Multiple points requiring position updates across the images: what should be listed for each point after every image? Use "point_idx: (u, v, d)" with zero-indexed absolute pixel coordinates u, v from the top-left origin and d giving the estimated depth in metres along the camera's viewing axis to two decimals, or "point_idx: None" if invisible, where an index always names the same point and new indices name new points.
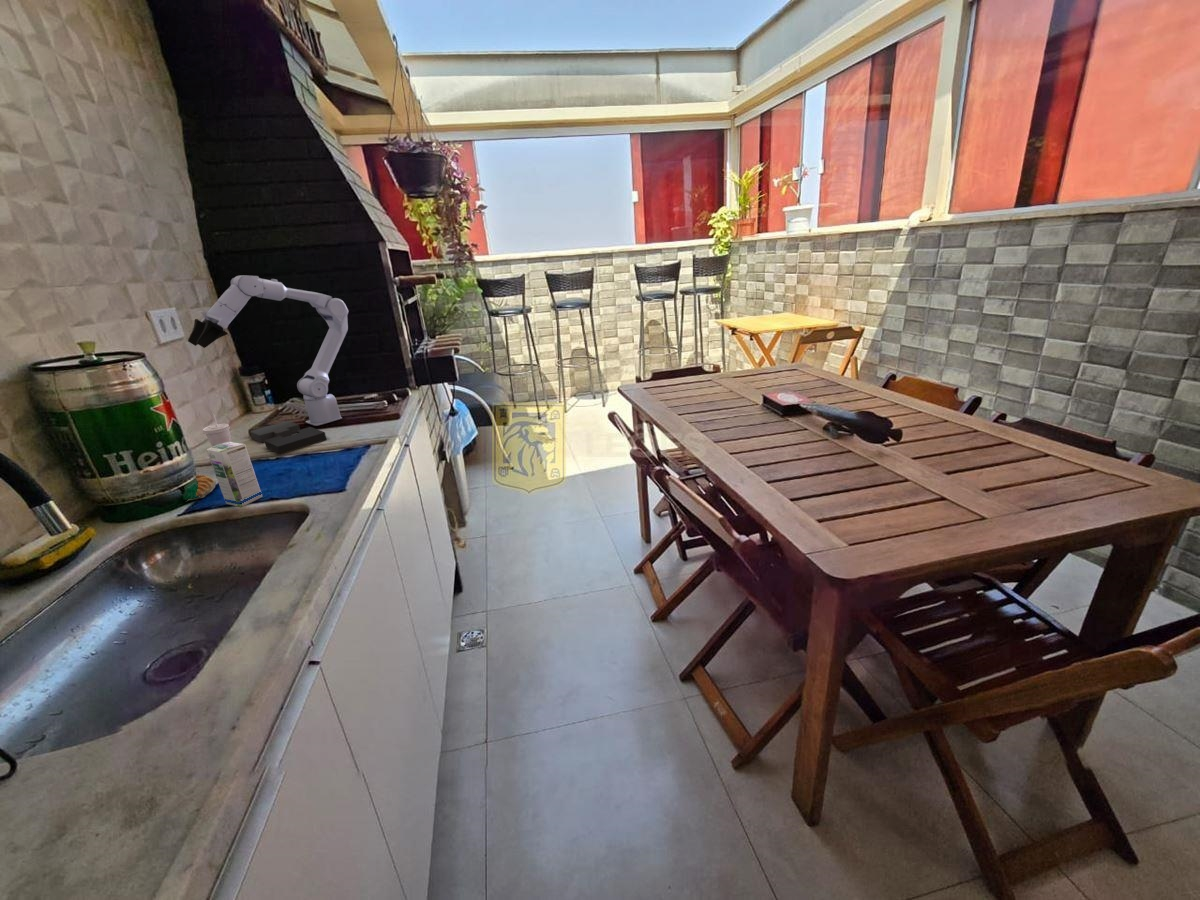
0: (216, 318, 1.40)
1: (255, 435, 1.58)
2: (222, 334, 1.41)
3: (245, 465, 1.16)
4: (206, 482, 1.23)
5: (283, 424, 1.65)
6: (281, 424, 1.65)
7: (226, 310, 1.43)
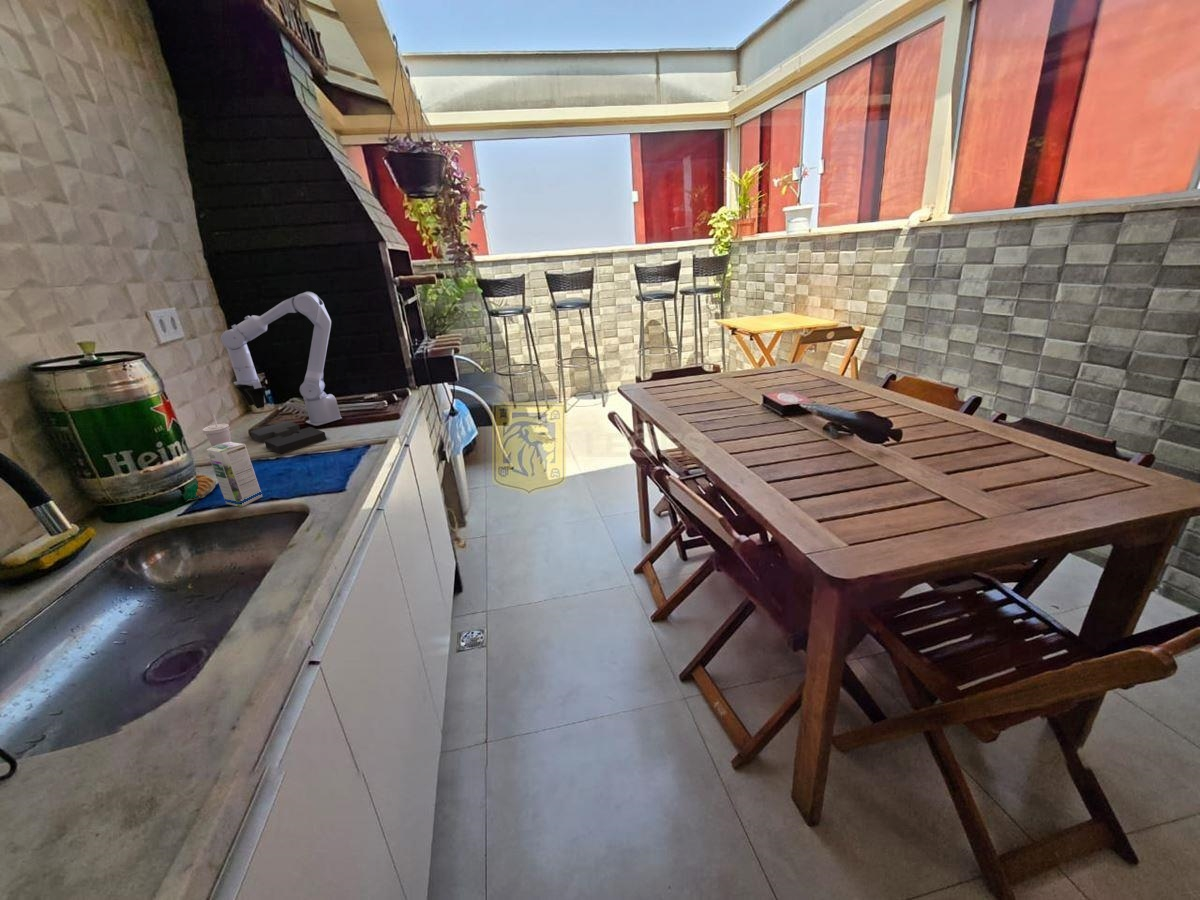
0: (248, 383, 1.58)
1: (255, 435, 1.58)
2: (263, 390, 1.61)
3: (245, 465, 1.16)
4: (206, 482, 1.23)
5: (283, 424, 1.65)
6: (281, 424, 1.65)
7: (246, 370, 1.58)
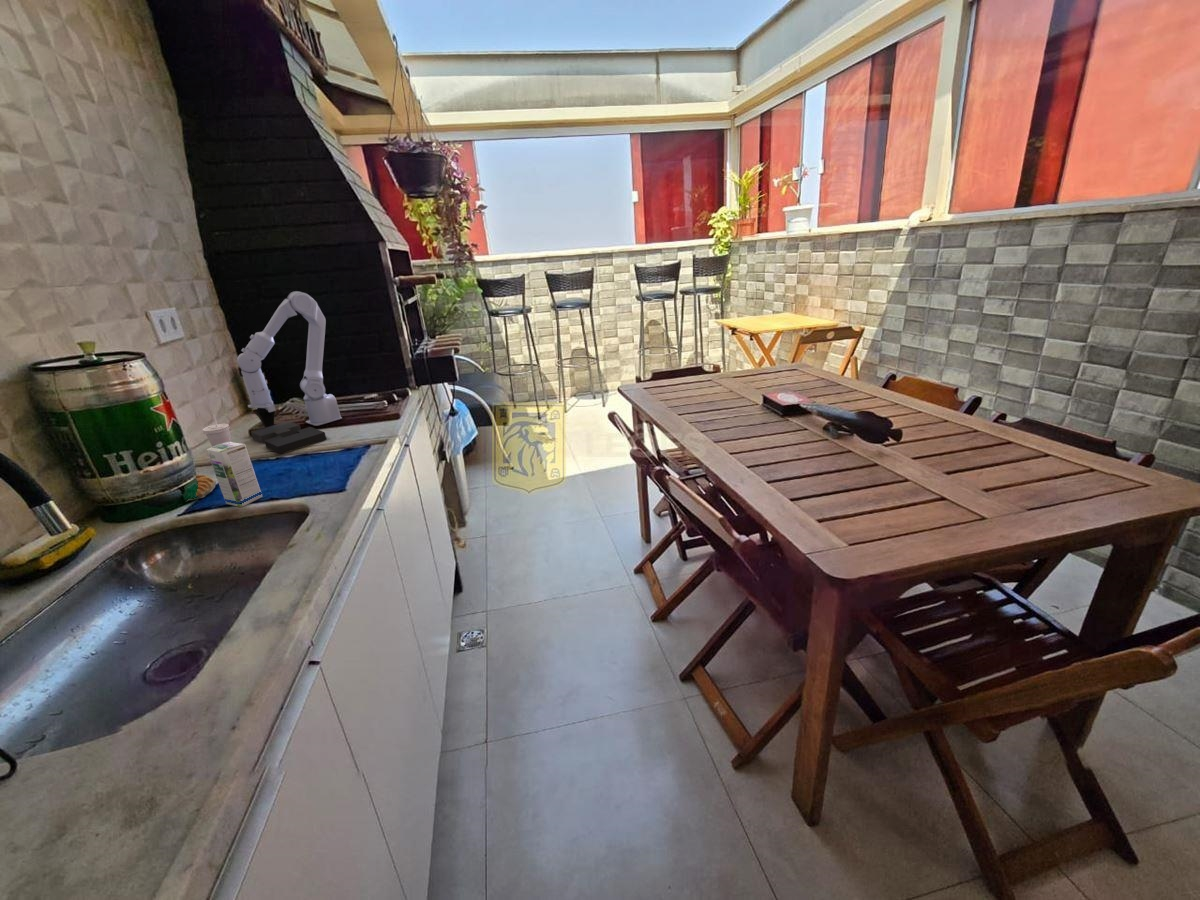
0: (263, 407, 1.57)
1: (256, 435, 1.57)
2: (273, 412, 1.62)
3: (245, 465, 1.16)
4: (206, 482, 1.23)
5: (284, 424, 1.64)
6: (282, 424, 1.64)
7: (260, 394, 1.58)
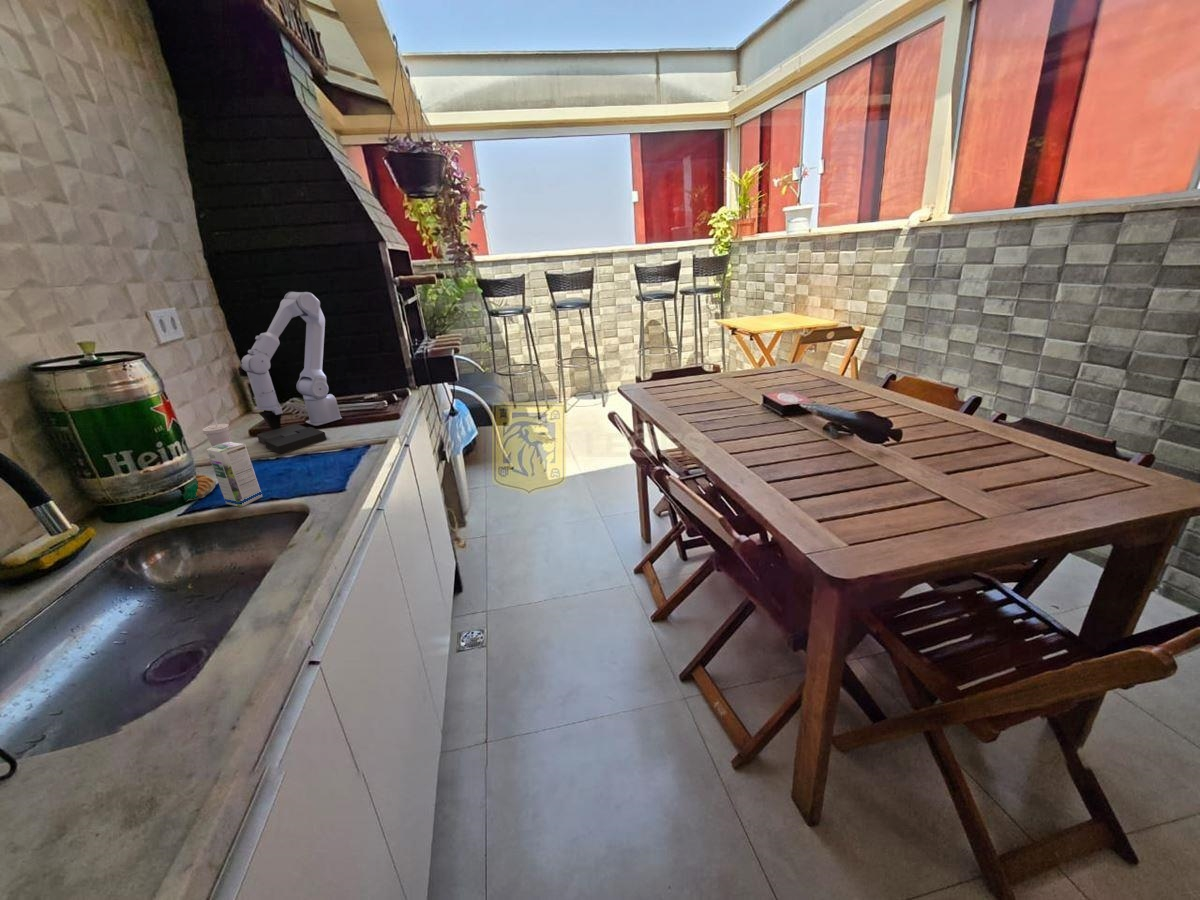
0: (269, 409, 1.54)
1: (262, 439, 1.54)
2: (280, 414, 1.60)
3: (245, 465, 1.16)
4: (206, 482, 1.23)
5: (291, 427, 1.61)
6: (289, 427, 1.61)
7: (267, 396, 1.55)
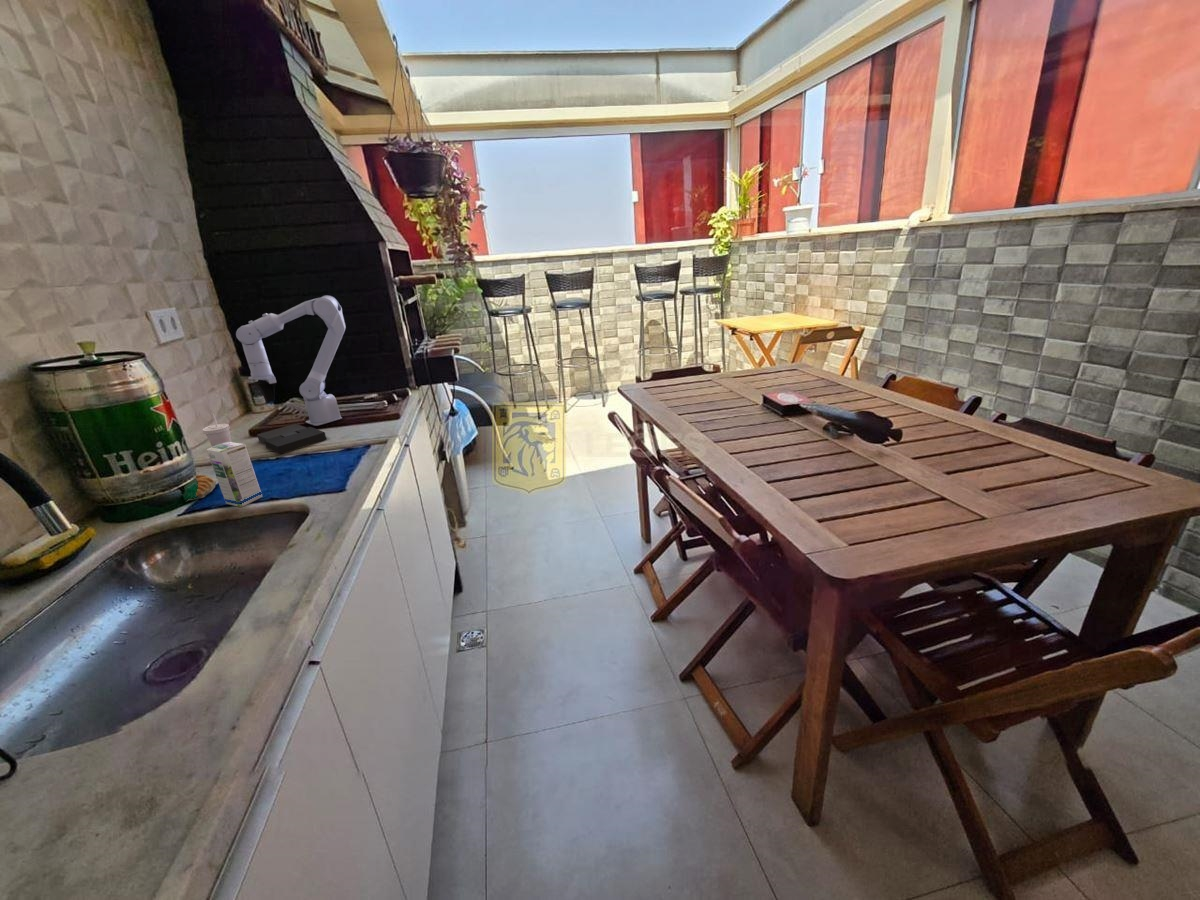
0: (263, 379, 1.59)
1: (262, 439, 1.54)
2: (274, 384, 1.64)
3: (245, 465, 1.16)
4: (206, 482, 1.23)
5: (291, 427, 1.61)
6: (289, 427, 1.61)
7: (261, 366, 1.60)
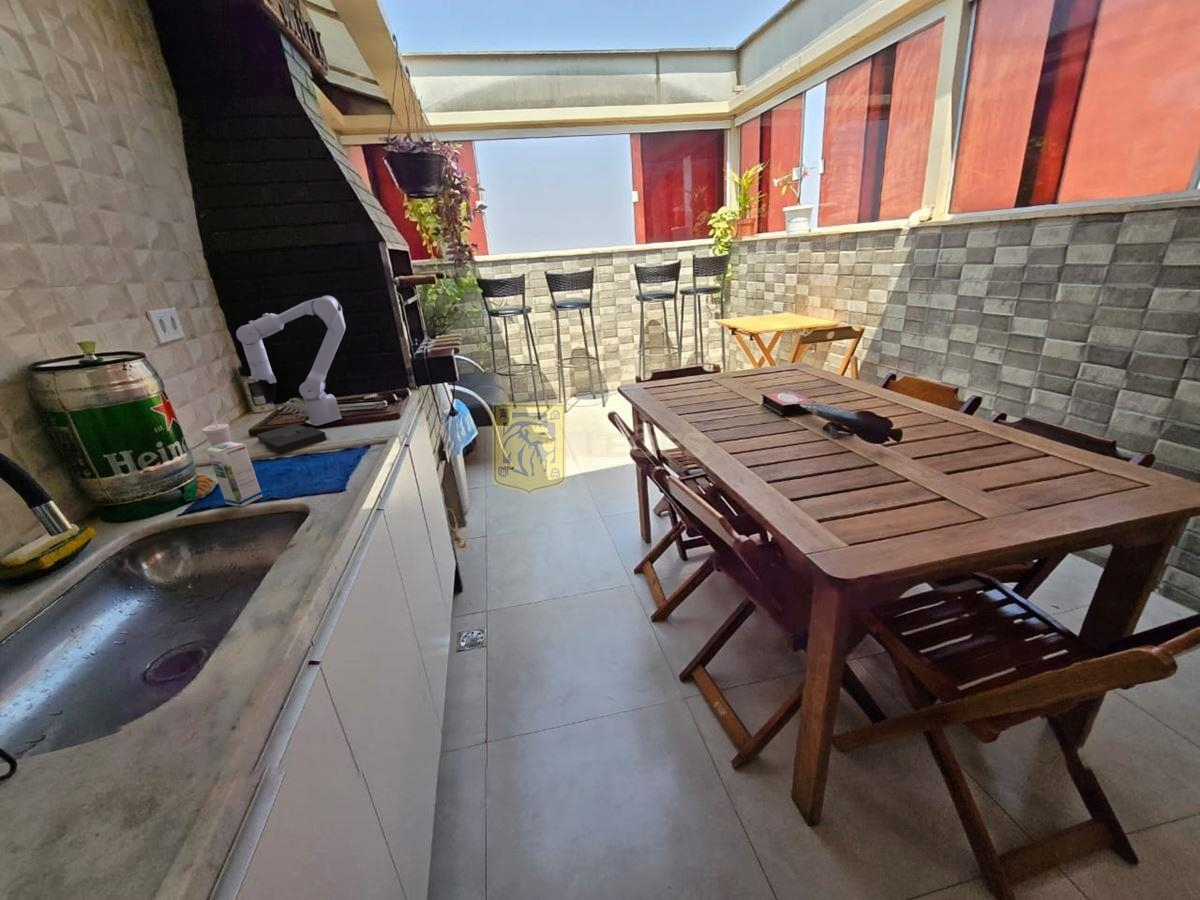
0: (264, 378, 1.59)
1: (262, 439, 1.54)
2: (274, 384, 1.64)
3: (245, 465, 1.16)
4: (206, 482, 1.23)
5: (291, 427, 1.61)
6: (289, 427, 1.61)
7: (261, 365, 1.60)
